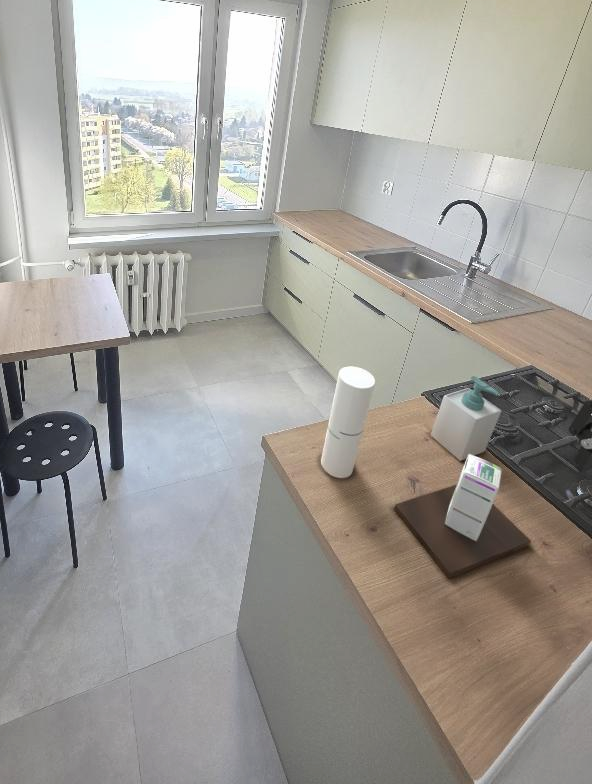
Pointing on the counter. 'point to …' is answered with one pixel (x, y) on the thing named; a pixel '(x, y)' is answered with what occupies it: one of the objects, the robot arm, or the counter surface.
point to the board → (449, 544)
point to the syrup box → (473, 496)
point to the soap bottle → (466, 421)
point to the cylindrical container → (347, 420)
